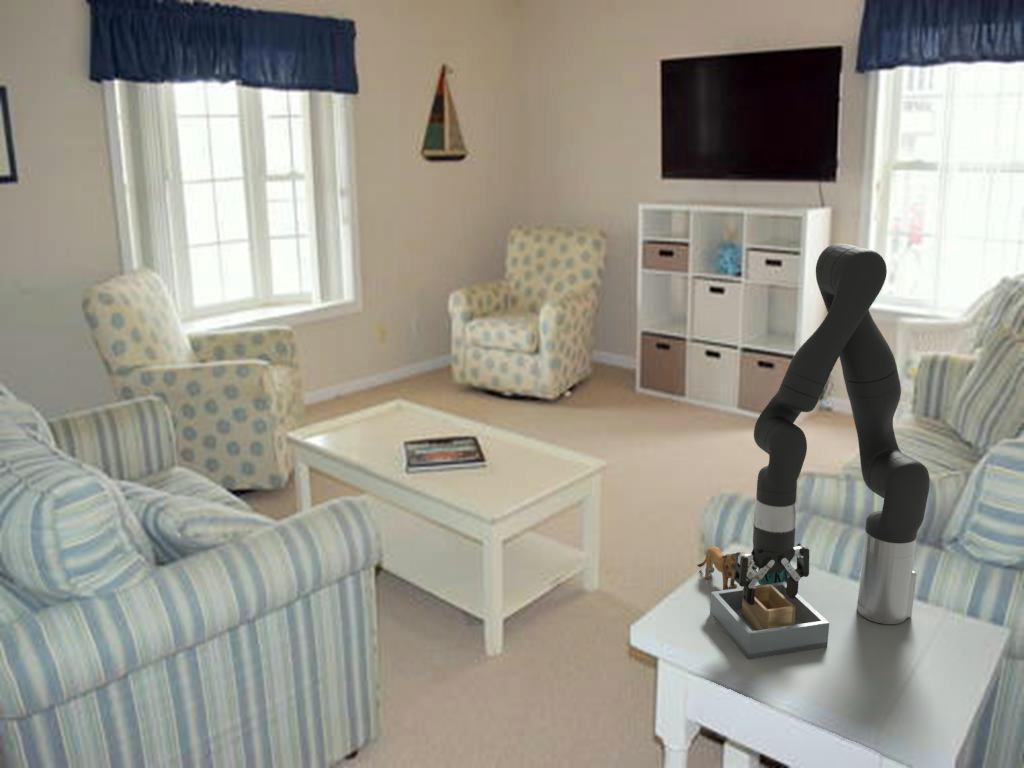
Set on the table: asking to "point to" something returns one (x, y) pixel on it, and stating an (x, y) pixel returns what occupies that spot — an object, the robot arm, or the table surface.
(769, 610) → the small oak crate
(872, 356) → the robot arm
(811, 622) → the grey square tray
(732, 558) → the lion figurine
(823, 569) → the table surface
